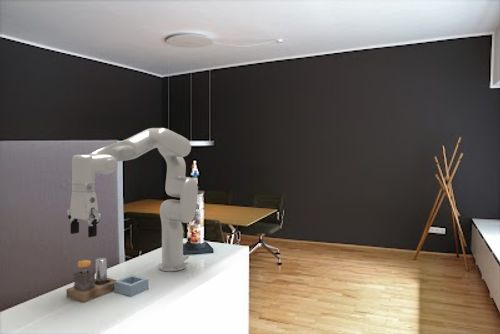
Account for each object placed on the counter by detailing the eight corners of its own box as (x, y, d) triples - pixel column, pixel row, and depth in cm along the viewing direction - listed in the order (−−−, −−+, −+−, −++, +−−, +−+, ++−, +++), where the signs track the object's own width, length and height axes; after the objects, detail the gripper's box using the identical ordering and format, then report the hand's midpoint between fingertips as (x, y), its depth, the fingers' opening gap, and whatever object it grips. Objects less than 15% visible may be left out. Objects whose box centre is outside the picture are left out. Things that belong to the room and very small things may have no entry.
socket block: (102, 283, 156) (102, 261, 155) (119, 288, 151) (119, 265, 150) (66, 296, 142) (66, 273, 141) (84, 302, 137) (83, 277, 136)
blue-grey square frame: (132, 284, 155) (132, 274, 155) (148, 288, 150) (148, 278, 150) (114, 291, 147) (114, 281, 147) (131, 296, 143) (130, 286, 142)
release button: (85, 278, 145) (85, 259, 145) (93, 280, 143) (93, 261, 143) (75, 282, 141) (75, 262, 141) (83, 284, 139) (83, 264, 139)
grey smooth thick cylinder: (102, 287, 152) (102, 257, 151) (109, 288, 150) (108, 258, 149) (93, 290, 148) (93, 259, 148) (100, 292, 146) (100, 261, 146)
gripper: (108, 189, 139) (108, 235, 140) (77, 186, 147) (77, 230, 148) (90, 190, 132) (90, 239, 133) (59, 187, 141) (59, 233, 141)
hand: (83, 234), depth 140 cm, fingers open, 9 cm apart
